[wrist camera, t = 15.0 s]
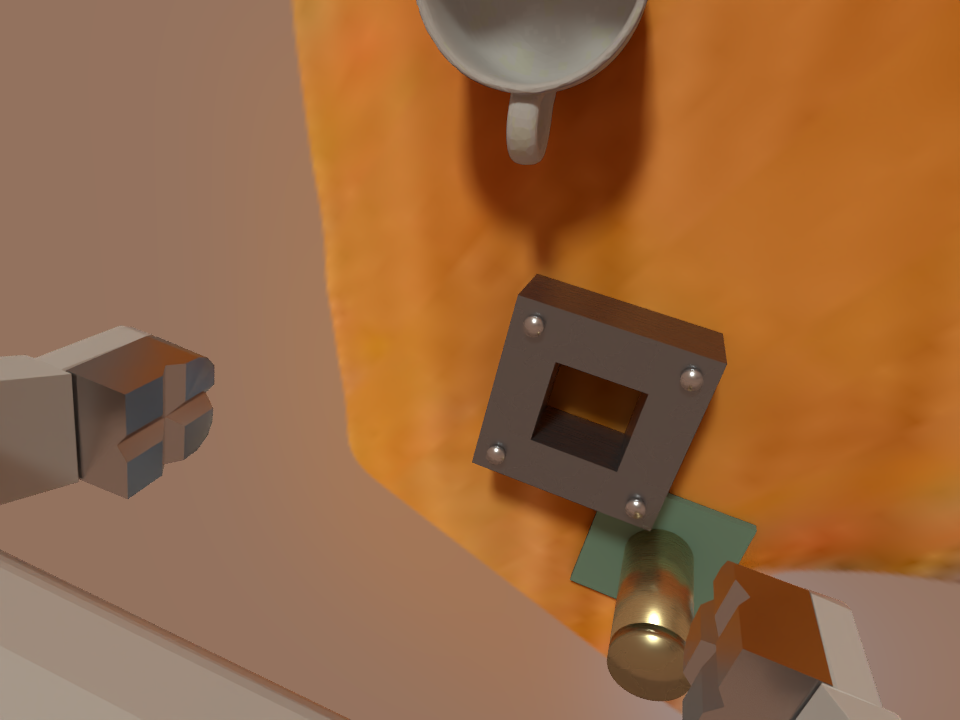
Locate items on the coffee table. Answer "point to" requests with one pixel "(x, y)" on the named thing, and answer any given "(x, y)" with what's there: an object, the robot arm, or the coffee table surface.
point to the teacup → (530, 52)
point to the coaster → (694, 523)
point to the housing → (612, 356)
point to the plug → (653, 616)
